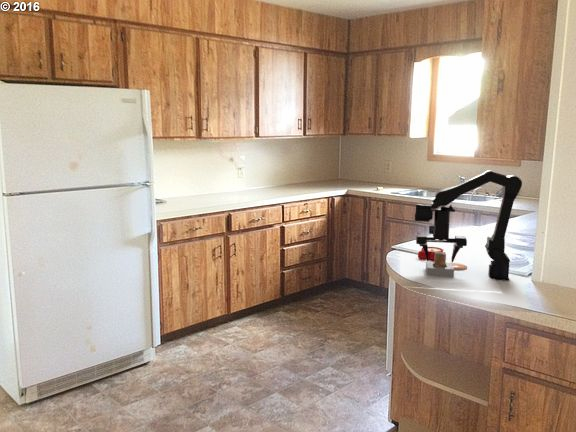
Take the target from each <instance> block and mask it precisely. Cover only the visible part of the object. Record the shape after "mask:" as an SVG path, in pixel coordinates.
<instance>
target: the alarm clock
mask: <svg viewBox="0 0 576 432" xmlns="http://www.w3.org/2000/svg"><path fill="white" fill-rule="evenodd" d="M444 251H445V249H443V248H441V247H436V246H428V257H429V260H428V261H434V256H435V252H444ZM417 257H418V259H419V260H421V261H423V260H425V261H427V258H426V254H425V251H424V249H423V247H422V248H421V250H419V251H418V253H417Z"/></svg>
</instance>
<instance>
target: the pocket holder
mask: <svg viewBox="0 0 576 432" xmlns="http://www.w3.org/2000/svg"><path fill="white" fill-rule="evenodd" d="M452 263H453V262H446V264H445V267H434V261H425V272H426V276H427V277H444V278H445V277H446V278H454V277H455V270H454V268H453V265H452Z"/></svg>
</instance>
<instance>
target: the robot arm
mask: <svg viewBox="0 0 576 432" xmlns="http://www.w3.org/2000/svg"><path fill="white" fill-rule="evenodd" d="M488 183H494V184H496V185H499V186H501V187H502V199H501V203H500V207H499V210H498V215H497V219H496V223H495V226H494V231H493V234H492V235H491V237H489V236H487V238H486V243H485V245H484V247H485V249H486V253H487V255H488V257H489V258H490V259H492V260H490V264H488V274H487V275H488V277H489V278H490V279H492V280H498V281H510V277H509V274H510V262H511V260H510V258H509V256H508V254H507V253H505V248H506V247H505V246H506V245H505V244H506V243H505V242H506V241H505V239H506V238H505V237H506V233H507V229H508V225H509V221H510V218H511V213H512V211H513V207H514V206H513V205H514V203H515V202H514V201H515V200H516V198H517V196H518V195H519V193H520V191H521V188H522V186H523V181H522V179H521V178H520V177H519V176H517V175H515V174H508V175H505V174H501V173H498V172H495V171H493V170H490V169H489V170H486V171H484V172H483V173H481V174H479V175H476V176H474V177H472V178H470V179H468V180H465V181H464V182H462V183H460V184H457V185H455V186H450V187H446V188H442V189H439V190H438V191H436V193H435V196H434V199H433V200H432V202H430V204H421V203H416V204H415V212H414V222H420V223H421V222H422V223H423V222H424V223H430V221H432V220H433V219H434V220H433V225H428V226H429V227H428V235H432V236H427V234H417V235H416V236H415V242H416V244H417V245H419V247H422V248H423V249H424V251H425V254H426V258H427V260H426V262H429V261H430V260H429V257H428V247H429V246H428V243H444V244H445V243H447V244H448V243H449V244H453V248H452V253H451V263H454V261H455V259H456V256H457V254H458V253H459V251H460V249H463V248H464V247H467V244H468V243H467V242H468V239H467V238H466V236H464V235H455V236H454V237H450V220H451V219H450V217H451V213H455V212H456V209H455V208H454V207H453V205H452V203H453V202H454V201H455V200H457V199H458V198H459V197H461V196H462V195H464V194H466V193H468V192H470V191H473V190H475V189H477V188H480V187H481V186H484V185H485V184H488ZM450 203H451V204H450ZM449 204H450V205H449ZM439 207H440V208H439ZM433 214H434V217H433Z"/></svg>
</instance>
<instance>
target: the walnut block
mask: <svg viewBox="0 0 576 432" xmlns="http://www.w3.org/2000/svg"><path fill="white" fill-rule="evenodd" d="M446 260H447V253H446V251H443V252H435V256H434V260H433V262H434V267H445V264H446V263H447V262H446Z"/></svg>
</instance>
